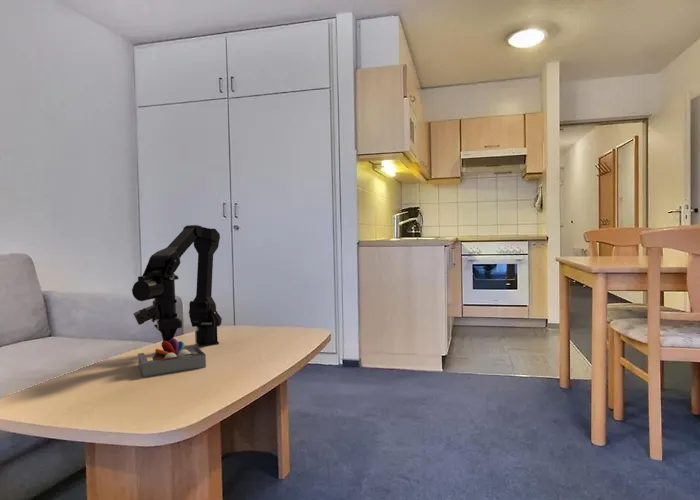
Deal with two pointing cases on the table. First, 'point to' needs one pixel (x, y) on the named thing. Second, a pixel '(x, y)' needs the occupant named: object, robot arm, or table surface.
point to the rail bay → (172, 363)
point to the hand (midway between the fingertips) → (167, 348)
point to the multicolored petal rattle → (170, 349)
